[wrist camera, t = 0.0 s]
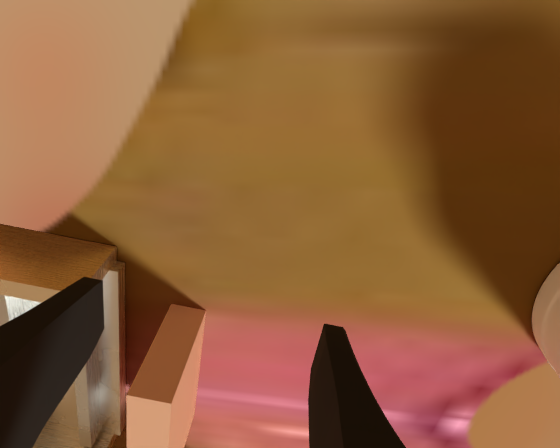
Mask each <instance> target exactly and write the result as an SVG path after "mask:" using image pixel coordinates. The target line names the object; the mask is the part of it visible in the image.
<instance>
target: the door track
mask: <svg viewBox="0 0 560 448" xmlns="http://www.w3.org/2000/svg"><path fill="white" fill-rule="evenodd" d="M83 277H88V278H93V279H98V280H103V301H104V330H103V332H102V334H101V337H100V339H99V341H98V343H97V345H96V347H95V349H94V351H93V353H92V355H91V356H90V358H89V360H88V361H87V363H86V364H85V366H84V367H83V369H82V370H81V372H80V373H79V375H78V376H77V378H76V379H75V381H74V382H73V384H72V385H71V387H70V388H69V390H68V391H67V393H66V394H65V396H64V397H63V399H62V400H61V402H60V403H59V405H58V406H57V408H56V409H55V411H54V412H53V414H52V415H51V417H50V418H49V420H48V421H47V423H46V425H45V426H44V428H43V429H42V431H41V433H40V435H39V437H38V438H37V440H36V442H35V444H34V446H33V448H112V446H113V443H114V441H115V439H116V437H117V435H121V433H122V431H123V429H124V426H125V424H126V352H125V262H121V261H117V247H116V246H111V245H106V244H100V243H95V242H90V241H85V240H80V239H75V238H70V237H65V236H60V235H54V234H49V233H44V232H39V231H34V230H29V229H24V228H19V227H13V226H8V225H3V224H0V326H1V325H3V324H5V323H7V322H8V321H10V320H12V319H14V318H16V317H18V316H20V315H21V314H23V313H25V312H27V311H28V310H30V309H32V308H33V307H35V306H37V305H39V304H40V303H42V302H44V301H45V300H47V299H48V298H50V297H52V296H53V295H55V294H57V293H58V292H60V291H61V290H63V289H65V288H66V287H68V286H70V285H71V284H73V283H74V282H76V281H78V280H79V279H81V278H83Z"/></svg>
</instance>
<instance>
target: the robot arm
mask: <svg viewBox="0 0 560 448" xmlns="http://www.w3.org/2000/svg"><path fill="white" fill-rule="evenodd" d="M103 330H104V301H103V280H98V279H93V278H88V277H83V278H81V279H79V280H78V281H76V282H74V283H73V284H71V285H70V286H68V287H66V288H65V289H63V290H61V291H60V292H58V293H57V294H55V295H53V296H52V297H50V298H48V299H47V300H45V301H44V302H42V303H40V304H39V305H37V306H35V307H33V308H32V309H30V310H28V311H27V312H25V313H23V314H21V315H20V316H18V317H16V318H14V319H12V320H10V321H8V322H7V323H5V324H3V325H1V326H0V448H33V446H34V444H35V442H36V440H37V438H38V437H39V435H40V433H41V431H42V429H43V428H44V426H45V425H46V423H47V421H48V420H49V418H50V417H51V415H52V414H53V412H54V411H55V409H56V408H57V406H58V405H59V403H60V402H61V400H62V399H63V397H64V396H65V394H66V393H67V391H68V390H69V388H70V387H71V385H72V384H73V382H74V381H75V379H76V378H77V376H78V375H79V373H80V372H81V370H82V369H83V367H84V366H85V364H86V363H87V361H88V360H89V358H90V356H91V355H92V353H93V351H94V349H95V347H96V345H97V343H98V341H99V339H100V337H101V334H102V332H103ZM308 404H309V446H310V448H406V447H405V446H404V444H403V443H402V441H401V440H400V438H399V437H398V435H397V434H396V432H395V431H394V429H393V428H392V426H391V425H390V423H389V422H388V420H387V418H386V417H385V415H384V413H383V411H382V410H381V408H380V406H379V404H378V403H377V401H376V399H375V397H374V395H373V393H372V391H371V390H370V388H369V386H368V384H367V381H366V379H365V377H364V375H363V373H362V371H361V369H360V367H359V364H358V362H357V360H356V357H355V355H354V353H353V350H352V348H351V345H350V342H349V340H348V337H347V334H346V331H345V330H344V328H343V327H339V326H334V325H329V324H324V326H323V329H322V333H321V336H320V340H319V343H318V347H317V350H316V353H315V357H314V360H313V364H312V367H311V375H310V386H309V398H308Z"/></svg>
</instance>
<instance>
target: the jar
mask: <svg viewBox="0 0 560 448" xmlns="http://www.w3.org/2000/svg"><path fill="white" fill-rule="evenodd" d="M532 329H533V334H534V337H535V340H536V342H537V344H538V346H539V348H540V350H541V351H542V353H543V355H544V356H545V358H546V360H547V361H548V363H549V364H550V366H551V367H552V368H553V369H554V370H555V371H556V373H557V374H558V376H559V378H560V263H559V264H558V265H557V266H556V267H555V268H554V269H553V270H552V272H551V273H550V274H549V275H548V277H547V278H546V280H545V281H544V283H543V284H542V286H541V288H540V290H539V292H538V294H537V297H536V299H535V302H534V306H533V311H532Z"/></svg>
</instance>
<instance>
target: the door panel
mask: <svg viewBox="0 0 560 448" xmlns="http://www.w3.org/2000/svg"><path fill="white" fill-rule="evenodd" d="M205 316H206V310H201V309H196V308H191V307H186V306H181V305H175V304H171V306H170V308H169V310H168V312H167V314H166V316H165V318H164V320H163V322H162V324H161V326H160V328H159V330H158V332H157V334H156V336H155V338H154V340H153V342H152V344H151V346H150V348H149V350H148V352H147V354H146V356H145V358H144V360H143V362H142V365H141V367H140V369H139V371H138V373H137V375H136V377H135V379H134V381H133V383H132V385H131V387H130V389H129V391H128V393H127V395H126V404H127V448H184V446H185V443H186V440H187V437H188V433H189V430H190V427H191V424H192V420H193V417H194V413H195V404H196V395H197V387H198V378H199V369H200V360H201V351H202V343H203V334H204V325H205Z"/></svg>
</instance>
